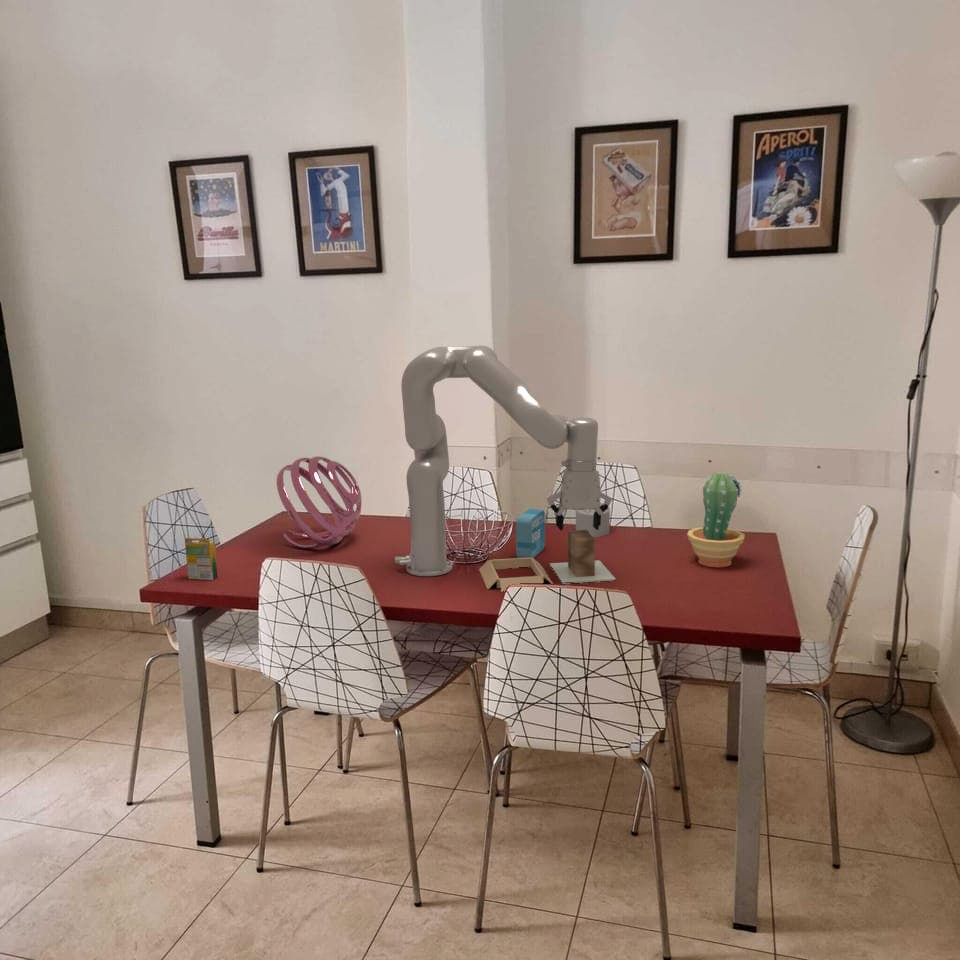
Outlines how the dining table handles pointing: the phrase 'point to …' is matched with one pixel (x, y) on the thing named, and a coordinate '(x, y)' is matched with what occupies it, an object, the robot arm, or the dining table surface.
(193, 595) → the dining table surface
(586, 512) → the lumpy-topped squat cylinder
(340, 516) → the spiral basket
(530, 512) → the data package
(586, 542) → the walnut box
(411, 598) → the dining table surface
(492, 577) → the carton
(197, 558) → the crayon box
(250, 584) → the dining table surface
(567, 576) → the plate
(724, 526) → the potted cactus
